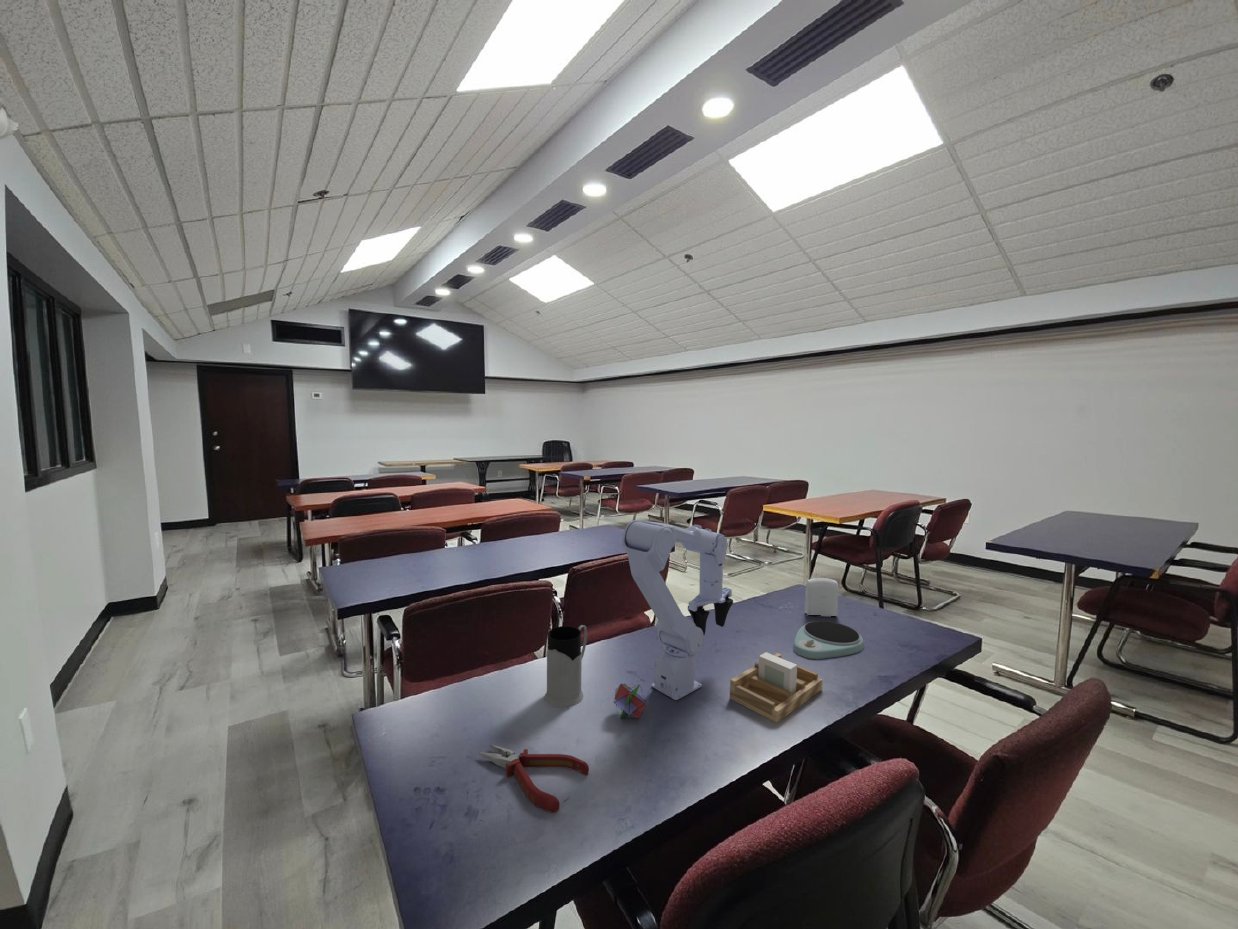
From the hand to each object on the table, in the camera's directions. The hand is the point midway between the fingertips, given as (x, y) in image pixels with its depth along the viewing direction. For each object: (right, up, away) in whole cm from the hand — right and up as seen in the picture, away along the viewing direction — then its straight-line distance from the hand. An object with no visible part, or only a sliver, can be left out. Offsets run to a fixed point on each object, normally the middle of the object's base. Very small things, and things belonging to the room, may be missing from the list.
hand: (710, 629), depth 126 cm
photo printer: (+43, -8, +37) cm, 57 cm away
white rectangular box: (+13, -10, -11) cm, 20 cm away
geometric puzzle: (-21, -12, -20) cm, 32 cm away
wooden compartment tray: (+13, -11, -11) cm, 21 cm away
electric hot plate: (+36, -10, +16) cm, 40 cm away
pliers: (-38, -14, -37) cm, 55 cm away
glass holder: (-35, -11, -11) cm, 38 cm away
